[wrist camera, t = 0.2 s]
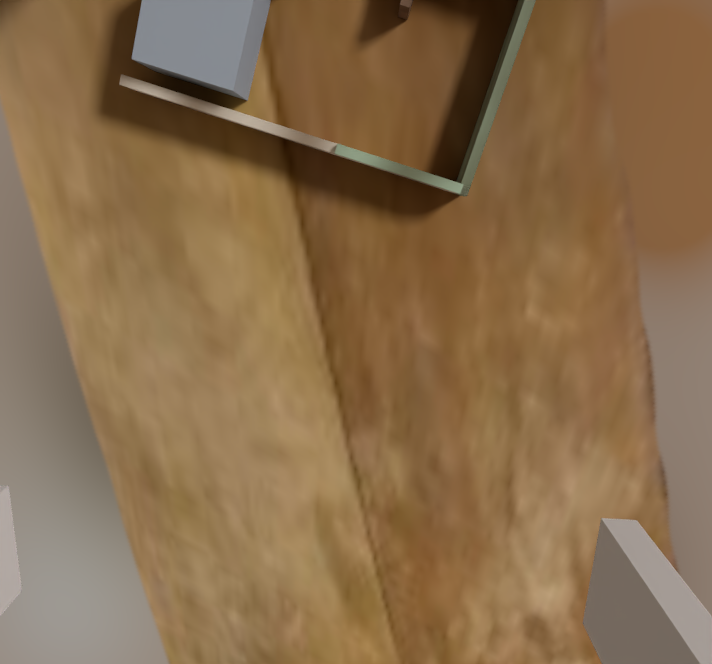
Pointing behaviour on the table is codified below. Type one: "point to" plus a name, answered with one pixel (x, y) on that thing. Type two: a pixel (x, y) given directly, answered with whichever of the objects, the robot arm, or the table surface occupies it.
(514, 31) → the wooden wall shelf
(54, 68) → the table surface
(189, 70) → the slate block
